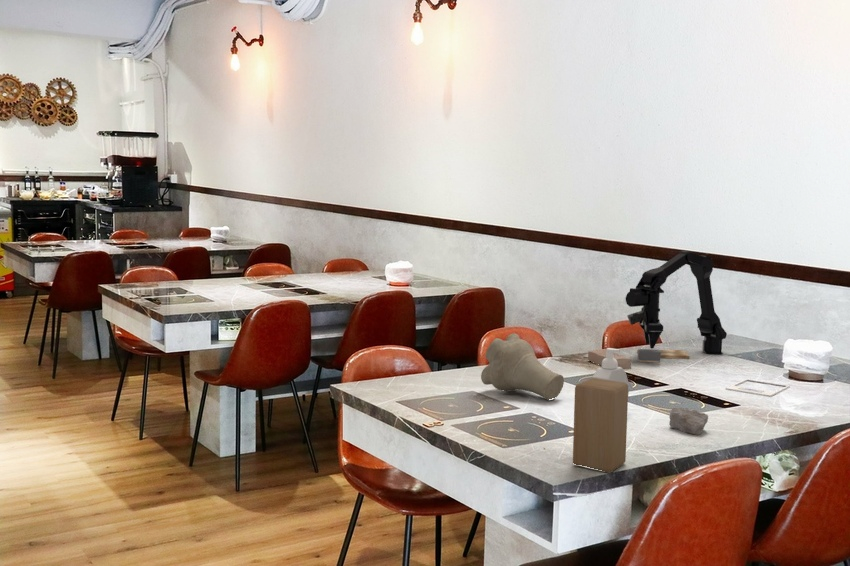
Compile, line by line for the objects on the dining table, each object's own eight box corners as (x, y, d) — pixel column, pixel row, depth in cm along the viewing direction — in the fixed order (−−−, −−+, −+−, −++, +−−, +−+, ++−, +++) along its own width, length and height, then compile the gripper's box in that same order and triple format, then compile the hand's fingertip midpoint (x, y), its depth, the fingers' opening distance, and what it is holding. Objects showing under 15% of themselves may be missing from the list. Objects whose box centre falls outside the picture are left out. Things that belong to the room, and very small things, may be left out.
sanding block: (659, 360, 338) (659, 349, 337) (660, 362, 333) (660, 352, 333) (637, 359, 339) (637, 348, 339) (638, 361, 334) (638, 351, 334)
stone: (664, 431, 242) (665, 410, 241) (673, 424, 249) (674, 404, 248) (701, 437, 237) (702, 416, 236) (709, 430, 244) (710, 409, 243)
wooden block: (588, 456, 220) (591, 376, 217) (626, 463, 214) (630, 382, 212) (570, 466, 211) (573, 384, 209) (610, 474, 206) (613, 390, 203)
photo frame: (725, 387, 290) (746, 378, 304) (725, 390, 291) (746, 381, 304) (770, 394, 281) (790, 385, 295) (770, 398, 281) (789, 388, 295)
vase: (594, 358, 275) (525, 325, 293) (556, 357, 258) (485, 322, 276) (571, 422, 278) (504, 386, 296) (532, 425, 262) (464, 387, 280)
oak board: (683, 353, 350) (683, 350, 350) (689, 358, 339) (689, 355, 339) (636, 352, 352) (636, 349, 351) (641, 357, 341) (641, 354, 341)
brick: (632, 369, 321) (632, 356, 321) (613, 371, 318) (613, 358, 318) (605, 360, 336) (605, 348, 336) (586, 362, 333) (587, 350, 333)
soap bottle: (603, 424, 248) (606, 354, 245) (586, 421, 251) (589, 351, 249) (629, 412, 260) (631, 346, 258) (612, 409, 264) (615, 343, 261)
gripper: (625, 301, 343) (624, 341, 345) (633, 308, 325) (631, 350, 327) (654, 301, 343) (653, 341, 345) (664, 308, 324) (662, 351, 326)
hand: (649, 346), depth 336 cm, fingers open, 9 cm apart
